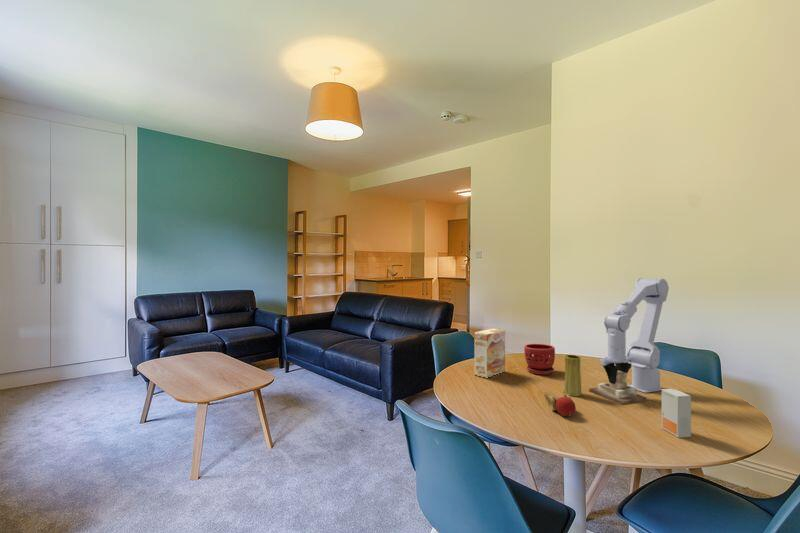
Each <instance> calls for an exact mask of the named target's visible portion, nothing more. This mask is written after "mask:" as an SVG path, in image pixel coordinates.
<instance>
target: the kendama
mask: <svg viewBox="0 0 800 533" xmlns="http://www.w3.org/2000/svg"><path fill="white" fill-rule="evenodd" d="M543 395H544V398H546V400H547V406H548V408H549V409H550V410H551V411H552V412H555V411H557V412H558V413H559V415H561V416H562V417H571V416H573V415H574V414H575V412H576V409H577V407H576V404H575V402H574V401H573V399H572V398H571V397H572V396H570V395H568V394H564V395H563V396H561V397H558V396H557V395H555V394H554V393H553V392H552V391H551V390H545V391H544V393H543Z"/></svg>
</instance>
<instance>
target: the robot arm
mask: <svg viewBox="0 0 800 533" xmlns="http://www.w3.org/2000/svg"><path fill="white" fill-rule="evenodd" d="M633 286H634V290H633V291H632V293H631V294H630V296H629V298H628V299H627V300H623V301H622V302H621V303H620V304H619V305H618V306H617V308H616V309H615V310H614V311H613V312H612V313H610V314H607V315H606V317H605V318H604V321H603V324H604V327H605V330H606V334H607V356H606V357H603V358H600V359H599V365H601V366H602V367H603V368H604V370H605V372H606V375H607V379H608V382H609V383H612V384H615V383H616V375H617V371H622V372H625V373H627V374H628V373H629V371H630V369H631V384H627V386H630V387H633V388H636V389H637V391H638V392H642V393H645V394H646V393H652V392H660V391H662V389H663V388H661V372H660V370H659V369H658V368H657V367H658V366H659V365H660V361H661V357H660V354H661V350H660V349H659V347H658V346H656V345H655V338H656V334H657V329H658V326H659V321H660V316H661V312H662V307H663V305H664V304H663V303H665V302H666V301H667V298H668V295H669V294H668V293H669V289H670V287H669V284H668V281H667V280H666V279H664V278H643V277H639V278H637V279H636V280H635V282H634V284H633ZM642 301H645V303H646V304H645V309H644V314H643V318H642V321H641V326H640V330H639V335H638V339H637V340H636V341H633V342H631V343H630V345H629V348H628V350H626V348H627V347H626V346H627V345H626V344H627V343H626V342H627V341H626V340H627V339H626V331H627V330H628V329H629V328H630V323H631V320H632V318H633V316H634V315H635V314H636V312H638V307H637V306H638V305H640V303H641V302H642Z"/></svg>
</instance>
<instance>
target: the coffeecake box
mask: <svg viewBox="0 0 800 533" xmlns="http://www.w3.org/2000/svg"><path fill="white" fill-rule="evenodd" d="M473 334H474V360H473V362H474V373H473V374H476V375H480V376H483V377H486V378H488V377H491V376H493V375H496V374H498V375H500V374H499V373H501V372H504V371H505V372H506V329H501V328H488V329H483V330H479V331H475V332H474V333H473ZM505 372H504V373H505ZM501 374H502V373H501ZM496 376H497V375H496ZM493 377H494V376H493ZM491 378H492V377H491ZM488 379H489V378H488Z"/></svg>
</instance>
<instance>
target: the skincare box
mask: <svg viewBox="0 0 800 533" xmlns="http://www.w3.org/2000/svg"><path fill="white" fill-rule="evenodd" d="M661 389H662V390H661V425H660V426H661V429H663V430H664V431H666V432H668V433H669V434H671V435H673V436H675V437H677V438H679V439H680V438H691V437H692V396H691V395H690V394H688V393H685V392H684V391H680V390H677V389H675V388H661Z"/></svg>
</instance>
